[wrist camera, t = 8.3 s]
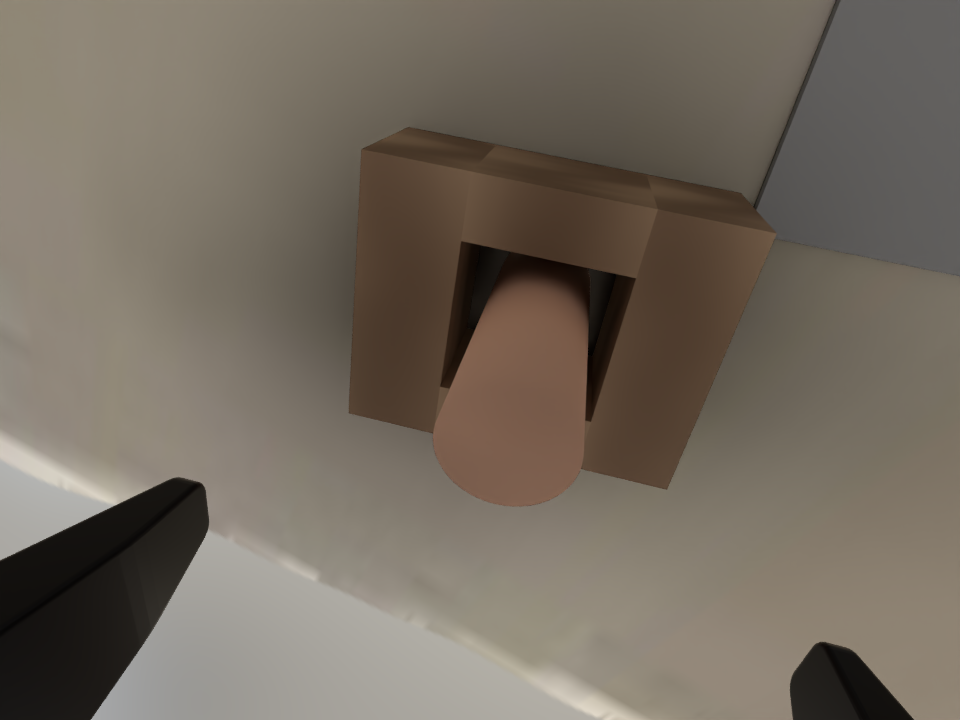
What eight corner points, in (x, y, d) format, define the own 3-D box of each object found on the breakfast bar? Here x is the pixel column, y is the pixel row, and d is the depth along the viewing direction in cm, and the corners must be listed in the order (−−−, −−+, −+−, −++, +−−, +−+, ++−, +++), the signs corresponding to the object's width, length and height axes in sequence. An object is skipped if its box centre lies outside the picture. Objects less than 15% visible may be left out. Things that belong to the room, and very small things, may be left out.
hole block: (740, 193, 17) (776, 233, 13) (656, 414, 21) (666, 489, 17) (408, 127, 18) (361, 149, 14) (388, 353, 22) (348, 413, 18)
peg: (600, 249, 18) (601, 403, 11) (578, 332, 20) (564, 521, 12) (508, 230, 19) (442, 367, 11) (492, 313, 20) (425, 486, 12)
